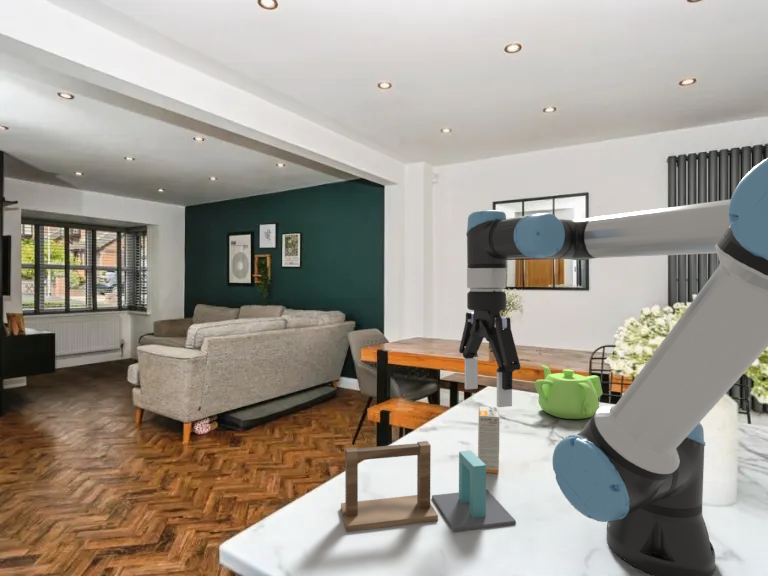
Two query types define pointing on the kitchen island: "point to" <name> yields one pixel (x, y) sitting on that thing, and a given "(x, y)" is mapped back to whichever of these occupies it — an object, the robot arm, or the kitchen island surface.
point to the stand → (387, 509)
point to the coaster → (461, 516)
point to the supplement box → (489, 438)
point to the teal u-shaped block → (472, 483)
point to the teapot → (569, 394)
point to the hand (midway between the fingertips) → (486, 397)
